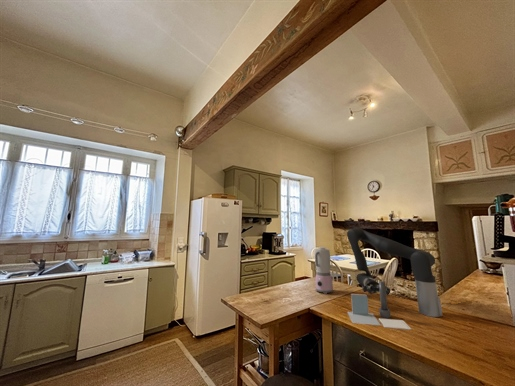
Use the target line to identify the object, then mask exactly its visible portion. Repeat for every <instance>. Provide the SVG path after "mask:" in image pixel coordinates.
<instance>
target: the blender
mask: <svg viewBox="0 0 515 386" xmlns="http://www.w3.org/2000/svg"><path fill="white" fill-rule="evenodd" d="M331 262H332V261H331V252H330V249H329V248H326V247H325V246H319V247H317V248H314V264H315V268H316V274H315V279H314V280H315V292H317V293H318V292H320V293H323V294H324V295H327V294H328V293H332V292H334V288H333V286H334V284H333V276H332V275H331Z"/></svg>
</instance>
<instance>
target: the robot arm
mask: <svg viewBox="0 0 515 386" xmlns="http://www.w3.org/2000/svg"><path fill="white" fill-rule="evenodd" d="M346 235H347V239H348V242H349V245H350V247H351V250H352V252H353V255H354V259H355V260H354V261H355V265H356V269H357V270H358V271H361V272H362V271H363V272H365V273H358V274H356V281H357V282H358V284H359V285H361V287H362V291H363V292H364V293H366V292H367V293H368V294H369V295H373V294H377V293H380V291H379V282H378V281H376V280H375V279H374V277H373V275H372V274H371V272H370V270H369V268H368V267H369V266H368V264H367V263H368V262H367V259H366V255H365V254H364V253H363V251H362V249H361V248H360V245H359V241H362V242H366V243H369V244H370V245H371V246H373V247H374V248H375V249H376V250H378V251H380V252H383V253H386V254H387V255H391V256H396V257H401V258H404V259H408V260H409V261H410V266H411V271H412V275H413V277H414V282H415V291H416V299H417V307H418V309H417V310H418V312H419V313H420V314H422V315H424V316H427V317H434V318H439V317H443V310H442V304H441V297H440V296H438V295H439V294H438V288H437V287H438V286H437V280H436V277H435V275H433V271H432V267H433V266H434V265H435V264H436V258H435V256H434V255H433V254H432V253H430V252H428V251H427V250H422V249H418V248H414V247H412V246H411V247H410V246H407V245H405V244H402V243H400V242H397V241H396V240H393V239H390V238H388V237H387V238H386V237H384V236H380V235H377V234H375V233H371V232H369V231H367V230H365V229H362V228H360V227H354V228H350V229H348V230H347V232H346ZM385 288H386V296H390V294H391V289H390V287H388V286H386V285H385Z"/></svg>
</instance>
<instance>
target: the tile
mask: <svg viewBox="0 0 515 386" xmlns="http://www.w3.org/2000/svg"><path fill="white" fill-rule="evenodd" d="M350 300H351V312H352V313H353V314H360V315H369V313H370V311H369V302H368V295H367V294H364V293H362V294H361V293H350Z"/></svg>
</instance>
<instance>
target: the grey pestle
mask: <svg viewBox="0 0 515 386" xmlns="http://www.w3.org/2000/svg"><path fill="white" fill-rule="evenodd" d="M378 284H379V291H380V292H379V299H380V300H379V301H380V307H379V308H378V310H379V317H381V318H382V319H391V318H392V316H391V309H389V307H388V300H387V298H388V297H387V295H386V288H385V286H386V282H385V281H383V280H379V281H378Z"/></svg>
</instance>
